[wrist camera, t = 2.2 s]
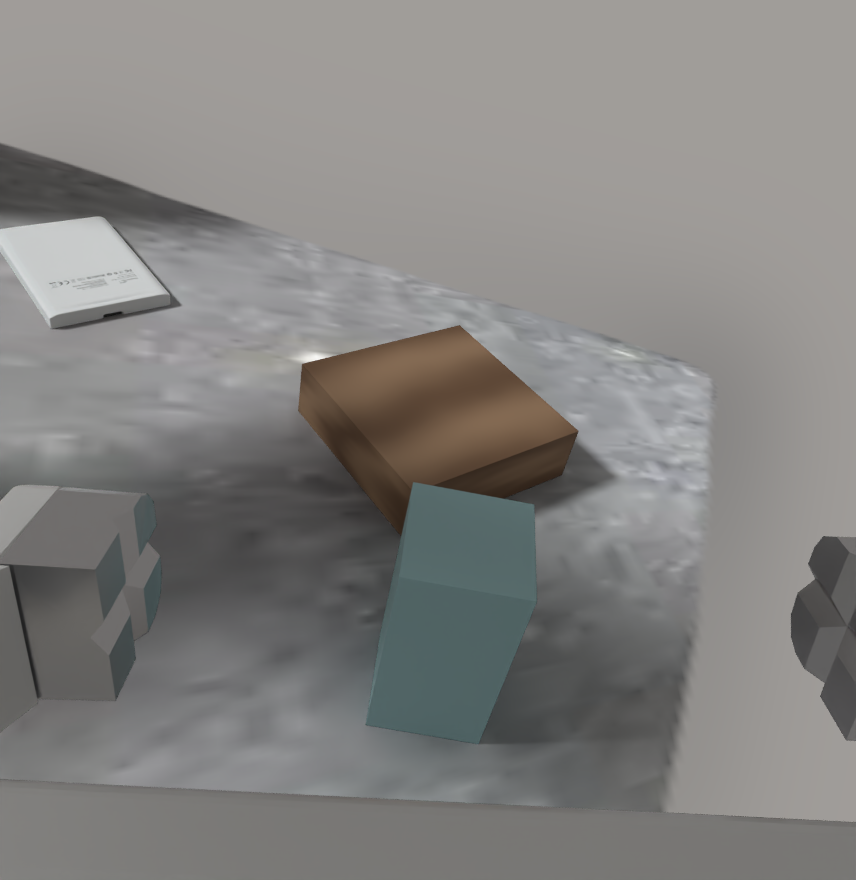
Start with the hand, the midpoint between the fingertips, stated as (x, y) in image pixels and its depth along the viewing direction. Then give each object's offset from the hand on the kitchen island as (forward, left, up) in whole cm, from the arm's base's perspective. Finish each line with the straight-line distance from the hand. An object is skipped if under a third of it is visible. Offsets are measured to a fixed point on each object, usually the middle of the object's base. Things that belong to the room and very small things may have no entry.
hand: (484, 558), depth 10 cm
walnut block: (-24, +21, -25) cm, 40 cm away
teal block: (-10, +11, -25) cm, 29 cm away
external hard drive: (-50, +8, -25) cm, 56 cm away
